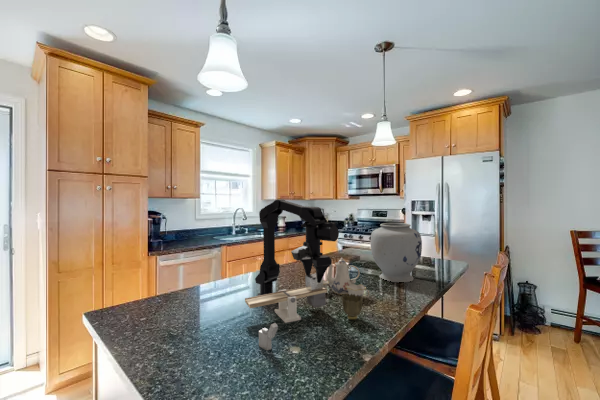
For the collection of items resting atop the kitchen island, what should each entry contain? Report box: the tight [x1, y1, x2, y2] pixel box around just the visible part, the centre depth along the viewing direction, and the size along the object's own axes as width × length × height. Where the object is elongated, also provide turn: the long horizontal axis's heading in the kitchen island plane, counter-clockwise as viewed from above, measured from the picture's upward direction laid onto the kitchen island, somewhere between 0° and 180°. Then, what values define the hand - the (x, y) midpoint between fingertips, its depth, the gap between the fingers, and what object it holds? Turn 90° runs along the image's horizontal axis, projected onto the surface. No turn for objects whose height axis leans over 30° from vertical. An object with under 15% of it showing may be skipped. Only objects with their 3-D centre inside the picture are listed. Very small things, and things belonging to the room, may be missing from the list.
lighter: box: [258, 322, 279, 351], centre depth 83 cm, size 7×2×8 cm, turn 45°
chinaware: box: [323, 257, 370, 298], centre depth 132 cm, size 28×17×17 cm, turn 67°
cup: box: [341, 294, 364, 321], centre depth 103 cm, size 8×7×8 cm
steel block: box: [304, 273, 324, 291], centre depth 111 cm, size 5×5×5 cm
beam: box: [244, 286, 328, 309], centre depth 107 cm, size 7×30×6 cm, turn 115°
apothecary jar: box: [370, 222, 423, 283], centre depth 157 cm, size 27×27×30 cm
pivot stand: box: [274, 288, 302, 324], centre depth 107 cm, size 12×6×8 cm, turn 25°
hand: (313, 279), depth 111 cm, fingers open, 9 cm apart
